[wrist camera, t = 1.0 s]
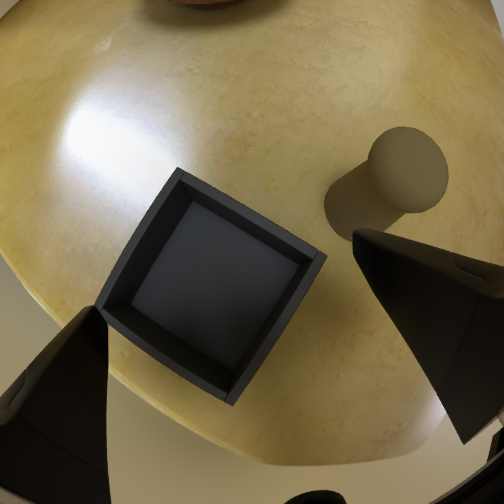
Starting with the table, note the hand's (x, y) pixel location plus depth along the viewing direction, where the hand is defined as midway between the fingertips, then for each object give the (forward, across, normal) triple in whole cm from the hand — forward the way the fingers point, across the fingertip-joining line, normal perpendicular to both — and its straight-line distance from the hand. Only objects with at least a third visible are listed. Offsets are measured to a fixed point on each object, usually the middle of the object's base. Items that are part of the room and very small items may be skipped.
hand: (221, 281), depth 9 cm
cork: (+13, -12, +6) cm, 19 cm away
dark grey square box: (+11, +2, +8) cm, 14 cm away
